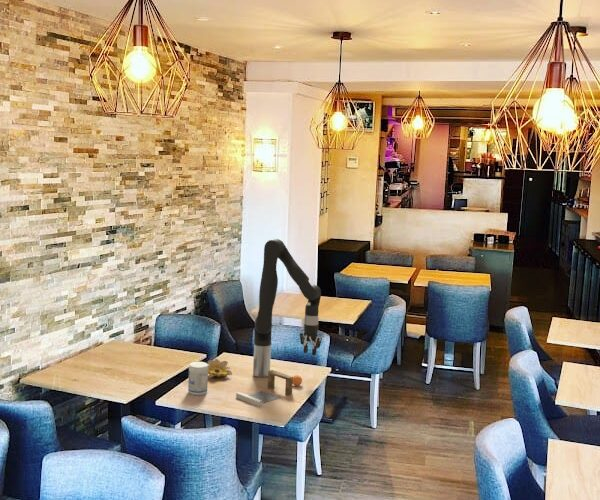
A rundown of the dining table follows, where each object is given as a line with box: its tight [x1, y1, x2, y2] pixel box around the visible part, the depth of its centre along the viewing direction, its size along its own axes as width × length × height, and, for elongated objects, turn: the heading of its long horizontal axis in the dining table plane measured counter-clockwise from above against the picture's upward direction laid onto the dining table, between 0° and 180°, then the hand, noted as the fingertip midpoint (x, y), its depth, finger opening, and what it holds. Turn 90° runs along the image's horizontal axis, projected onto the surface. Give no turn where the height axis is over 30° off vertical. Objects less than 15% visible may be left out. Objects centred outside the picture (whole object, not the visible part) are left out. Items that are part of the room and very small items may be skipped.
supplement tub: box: [187, 361, 209, 396], centre depth 347 cm, size 10×10×15 cm
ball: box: [292, 374, 303, 387], centre depth 364 cm, size 6×6×6 cm
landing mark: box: [248, 390, 281, 405], centre depth 345 cm, size 13×13×1 cm
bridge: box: [267, 369, 294, 397], centre depth 354 cm, size 3×14×9 cm, turn 48°
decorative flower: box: [207, 358, 233, 379], centre depth 372 cm, size 15×11×10 cm
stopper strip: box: [235, 391, 263, 407], centre depth 339 cm, size 2×16×2 cm, turn 48°
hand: (309, 353), depth 370 cm, fingers open, 5 cm apart
